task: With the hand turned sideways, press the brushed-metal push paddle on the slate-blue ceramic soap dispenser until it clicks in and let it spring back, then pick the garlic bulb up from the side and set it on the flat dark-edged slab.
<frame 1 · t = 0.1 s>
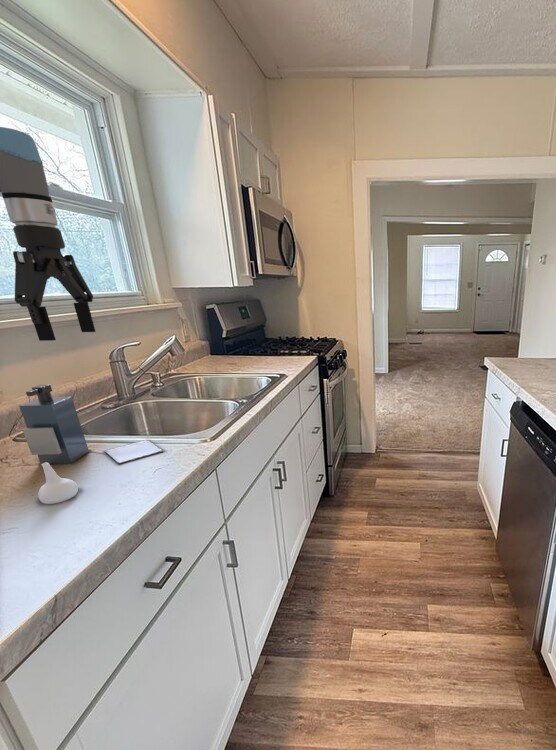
hand: (69, 336, 88), 30 cm above the countertop, tool pointing down, fingers open, 13 cm apart
flat dark-edged slab: (134, 454, 102), on the countertop
dispenser paddle: (42, 441, 92), point 7 cm above the countertop, slide at -0.1 cm
soap dispenser: (66, 459, 99), on the countertop
garlic bulb: (61, 499, 81), on the countertop
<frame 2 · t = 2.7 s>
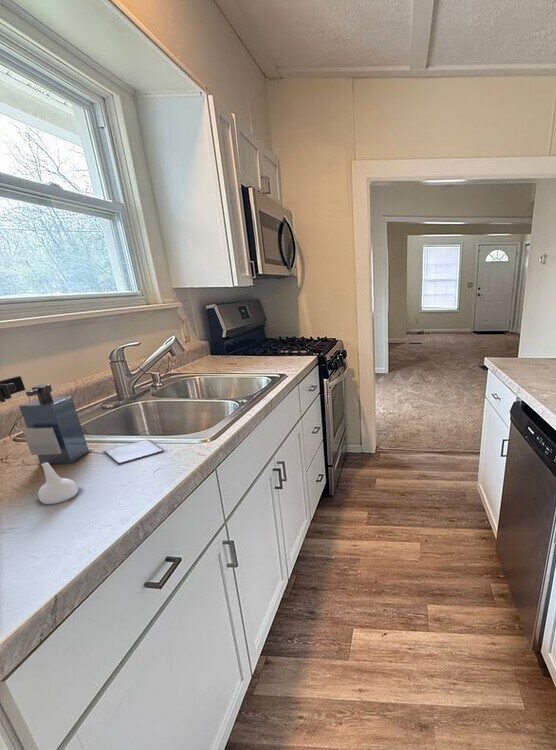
nothing on the countertop moved.
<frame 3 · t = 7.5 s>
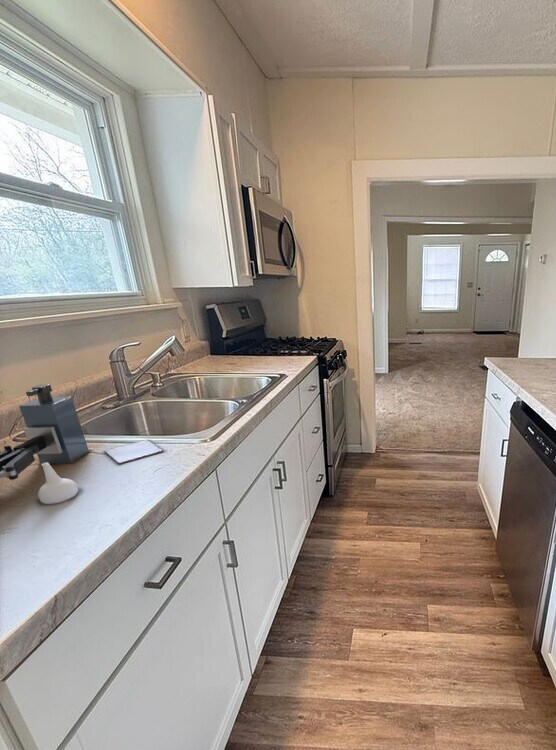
hand: (41, 442, 91), 7 cm above the countertop, tool horizontal, fingers closed
dispenser paddle: (43, 440, 92), point 7 cm above the countertop, slide at 0.3 cm, touching gripper
everything else where it was.
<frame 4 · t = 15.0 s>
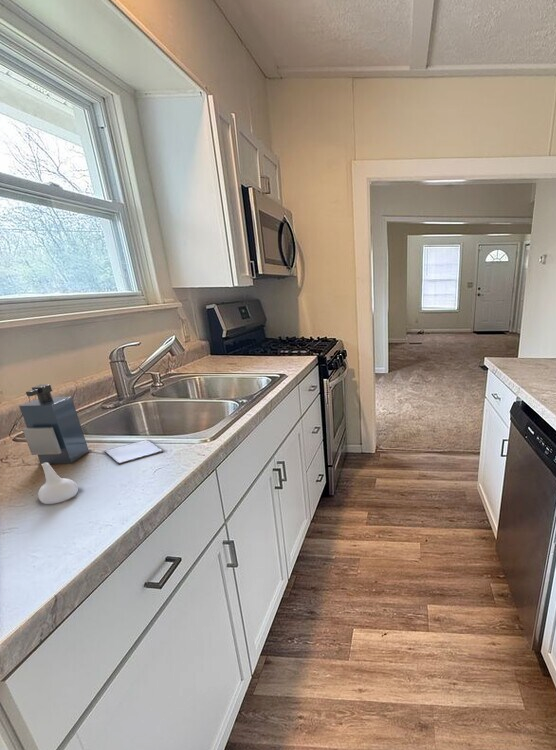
dispenser paddle: (42, 441, 92), point 7 cm above the countertop, slide at -0.1 cm
everything else where it was.
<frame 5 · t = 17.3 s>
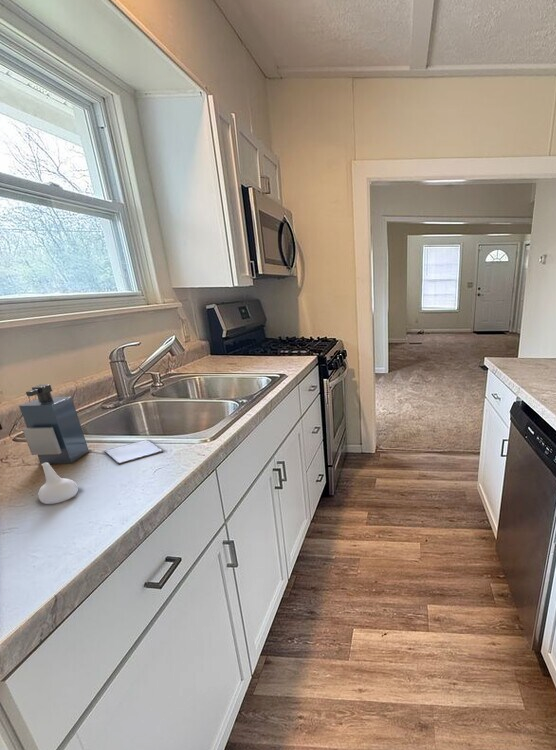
nothing on the countertop moved.
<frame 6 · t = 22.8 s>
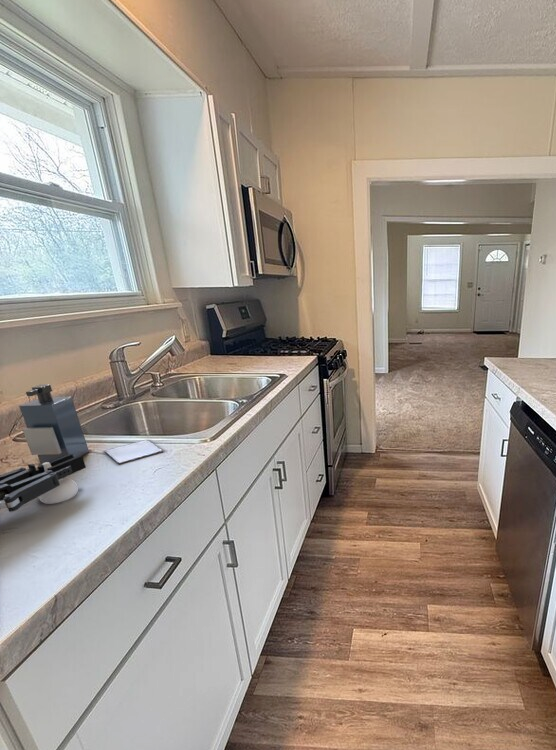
hand: (77, 460, 84), 6 cm above the countertop, tool horizontal, fingers closed on garlic bulb, 2 cm apart
garlic bulb: (61, 499, 81), on the countertop, touching gripper
everything else where it was.
when the fingers open (7 cm above the countertop, at t = 31.0 s): garlic bulb stays where it is, resting on flat dark-edged slab.
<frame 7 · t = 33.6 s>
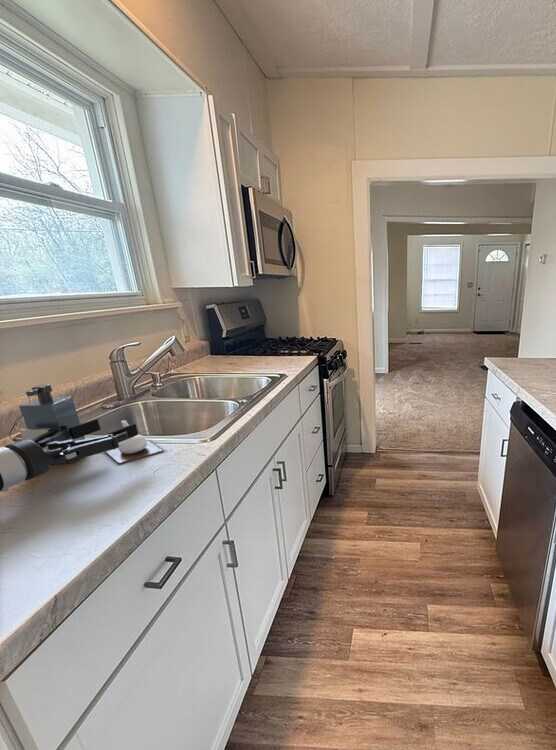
hand: (116, 426, 96), 9 cm above the countertop, tool horizontal, fingers open, 11 cm apart
dispenser paddle: (39, 442, 91), point 7 cm above the countertop, slide at -0.8 cm, touching hand
garlic bulb: (134, 451, 101), point 1 cm above the countertop, touching flat dark-edged slab
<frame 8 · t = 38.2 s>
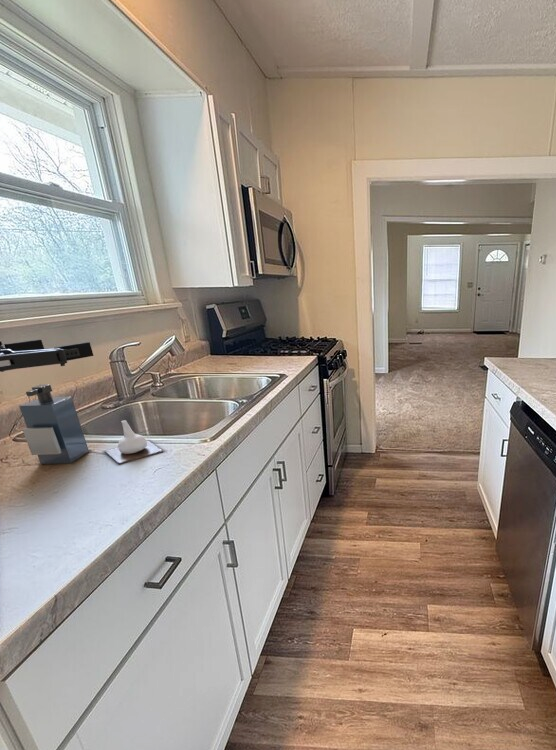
hand: (65, 347, 83), 28 cm above the countertop, tool horizontal, fingers open, 13 cm apart
dispenser paddle: (42, 441, 92), point 7 cm above the countertop, slide at -0.1 cm
everything else where it was.
at the end: dispenser paddle pulled out 1.0 cm at the most during the clip, back to where it started at the end; dispenser paddle slide at -0.1 cm; garlic bulb inside the target area on the flat dark-edged slab (0.1 cm from its centre), point 0.8 cm above the flat dark-edged slab's base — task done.
